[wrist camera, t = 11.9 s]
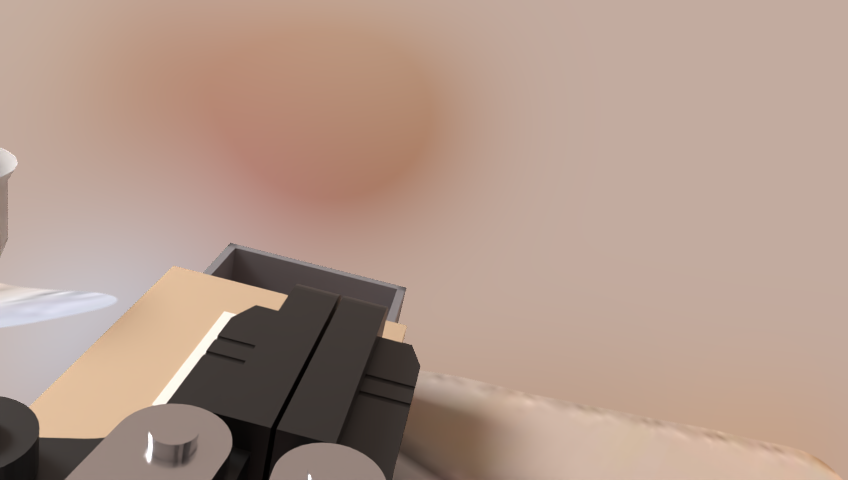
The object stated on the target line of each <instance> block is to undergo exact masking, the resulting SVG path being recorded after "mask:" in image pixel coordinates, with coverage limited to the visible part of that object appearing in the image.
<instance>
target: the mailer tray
mask: <svg viewBox="0 0 848 480" xmlns="http://www.w3.org/2000/svg"><path fill="white" fill-rule="evenodd" d="M203 273H204V274H208V275H211V276H215V277H219V278H223V279H227V280H231V281H235V282H239V283H243V284H246V285H250V286H254V287H258V288H262V289H266V290H270V291H274V292H278V293H282V294H285V295H289V294H290V292H291V291H292V289H293V287H294V286H295V285H296V284H300V285H304V286H308V287H312V288H316V289H319V290H323V291H327V292H331V293H335V294H339V295H341V300H342V298H343V297H344V296H347V297H351V298H355V299H359V300H363V301H367V302H371V303H374V304H378V305H382V306H386V307H388V312H387V318H386V320H387V321H391V322H394V323H398V320H399V316H400V312H401V308H402V303H403V299H404V295H405V291H406V288H405V287H401V286H397V285H394V284H390V283H386V282H382V281H378V280H374V279H370V278H366V277H362V276H358V275H354V274H350V273H346V272H343V271H339V270H335V269H331V268H327V267H323V266H319V265H315V264H311V263H307V262H303V261H299V260H295V259H292V258H288V257H284V256H280V255H276V254H272V253H268V252H264V251H260V250H256V249H252V248H249V247H244V246H240V245H237V244H233V243H230V244H229V245H228V246H227V247H226V248H225V250H224V251H223V252H222V253H221V254H220V255H219V256H218V257H217V258H216V259H215V261H214V262H213V263H212V264H211V265H210V266H209V267H208V268H207V269H206V270H205V271H204V272H203Z"/></svg>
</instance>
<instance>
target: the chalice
mask: <svg viewBox="0 0 848 480" xmlns="http://www.w3.org/2000/svg"><path fill="white" fill-rule="evenodd" d="M17 165H18V162H17V159H16V156H14V155H13V154H11V153H10V152H8V151H7V150H5V149H2V148H0V256H1V254H2V251H3V249H4V247H5V244H6V242H7V239H8V226H7V225H8V207H7V206H8V205H7V204H8V197H7V195H8V194H7V192H8V190H7V181H8V179H9V177H10V176H11V174H12V173H13V171H14V169H15V168H16V166H17Z"/></svg>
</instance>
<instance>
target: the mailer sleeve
mask: <svg viewBox="0 0 848 480" xmlns="http://www.w3.org/2000/svg"><path fill="white" fill-rule="evenodd" d="M287 297H288V295H285V294H282V293H278V292H274V291H270V290H266V289H262V288H258V287H254V286H250V285H246V284H243V283H239V282H235V281H231V280H227V279H223V278H219V277H215V276H211V275H208V274H204V273H199V272H196V271H192V270H187V269H184V268H180V267H176V266H173V267H172V268H171V269H170V270H169V271H168V272H167V273H166V274H165V275H164V276H163V277H162V278H161V279H160V280H159V281H157V282H156V284H154V285H153V286H152V287H151V288H150V290H148V291H147V292H146V293H145V294H144V295H143V296H142V297H141V298H140V299H139V300H138V301H137V302H136V303H135V304H134V305H133V306H132V307H131V308H130V309H129V310H128V311H127V312H126V313H125V314H124V315H123V316H122V317H121V318H120V319H119V320H118V321H117V322H116V323H115V324H114V325H112V326H111V327H110V328H109V329H108V330H107V331H106V332H105V333H104V334H103V335H102V336H101V337H100V338H99V339H98V340H97V341H96V342H95V343H94V344H93V345H92V346H91V347H90V348H89V349H88V350H87V351H86V352H85V353H84V354H83V355H82V356H81V357H80V358H79V359H78V360H77V361H76V362H75V363H74V364H73V365H72V366H70V368H68V369H67V370H66V372H64V373H63V374H62V375H61V376H60V377H59V378H58V379H57V380H56V381H55V382H54V383H53V384H52V385H51V386H50V387H49V388H48V389H47V390H46V391H45V392H44V393H43V394H42V395H41V396H40V397H39V398H38V399H37V400H36V401H35V402H34V403H33V404H32V405H31V406H30V407H29V408H30V409H31V410H32V411H33V412H34V413H35V415H36V417H37V418H38V421H39V427H40V429H39V437H45V438H82V439H88V438H104V437H106V436H107V435H108V434H109V433H110V432H111V431H112V430H113V429H114V428H115V427H116V426H117V425H118V424H119V423H120V422H121V421H122V420H124V419H125V418H126V417H127V416H129V415H131V414H132V413H134V412H136V411H139V410H141V409H143V408H147V407H150V406H155V405H160V404H166V403H167V402H168V401H169V399H170V398H171V397H172V395H173V394H174V393H175V391H176V390H177V389H178V387H179V386H180V385H181V383H182V382H183V381H184V379H185V378H186V377H187V375H188V374H189V373H190V371H191V370H192V369H193V367H194V366H195V365H196V363H197V362H198V361H199V360H200V358H201V357H202V356H203V354H204V355H205V354H206V350H207V349H208V348H209V346H210V345H211V344H212V342H213V341H214V340H215V339H217V336H218V334H219V333H220V332H221V330H222V329H223V328H224V326H225V325H226V324H227V322H228V321H229V320H230V318H231V317H233V316H235V315H237V314H239V313H241V312H243V311H245V310H247V309H249V308H251V307H253V306H255V305H258V306H262V307H266V308H270V309H274V310H277V311H279V309H280V308H281V306H282V304H283V303H284V301H285V300H286V298H287ZM406 328H407V326H406V325H402V324H398V323H394V322H391V321H387V320H386V322H385V327H384V331H383V336H382V338H386V339H390V340H394V341H398V342H402V343H403V340H404V336H405V332H406Z"/></svg>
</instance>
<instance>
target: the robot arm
mask: <svg viewBox="0 0 848 480" xmlns="http://www.w3.org/2000/svg"><path fill="white" fill-rule="evenodd" d="M387 312H388V307H386V306H382V305H378V304H374V303H371V302H367V301H363V300H359V299H355V298H351V297H347V296H344V297H343V298H342V300H341V295H339V294H335V293H331V292H327V291H323V290H319V289H316V288H312V287H308V286H304V285H300V284H296V285H295V286H294V287H293V289H292V291H291V292H290V294H289V295H288V297H287V298H286V300H285V301H284V303H283V304H282V306H281V308H280V309H279V311H277V310H274V309H270V308H266V307H262V306H258V305H255V306H253V307H251V308H249V309H247V310H245V311H243V312H241V313H239V314H237V315H235V316H233V317H231V318H230V320H229V321H228V322H227V324H226V325H225V326H224V328H223V329H222V330H221V332H220V333H219V334H218V336H217V339H215V340H214V341H213V342H212V344H211V345H210V346H209V348H208V349H207V350H206V354H205V355H204V354H203V356H202V357H201V358H200V360H199V361H198V362H197V363H196V365H195V366H194V367H193V369H192V370H191V371H190V373H189V374H188V375H187V377H186V378H185V379H184V381H183V382H182V383H181V385H180V386H179V387H178V389H177V390H176V391H175V393H174V394H173V395H172V397H171V398H170V399H169V401H168V402H167V403H166V404H160V405H155V406H150V407H147V408H143V409H141V410H139V411H136V412H134V413H132V414H131V415H129V416H127V417H126V418H125V419H124V420H122V421H121V422H120V423H119V424H118V425H117V426H116V427H115V428H114V429H113V430H112V431H111V432H110V433H109V434H108V435H107V436H106V437H104V438H88V439H82V438H45V437H39V429H40V427H39V421H38V418H37V417H36V415H35V413H34V412H33V411H32V410H31V409H30V408H29V407H27V406H26V405H24V404H22V403H20V402H18V401H16V400H13V399H10V398H6V397H0V480H392V478H393V472H394V468H395V464H396V460H397V456H398V452H399V448H400V444H401V440H402V436H403V432H404V429H405V425H406V421H407V417H408V413H409V409H410V405H411V401H412V397H413V393H414V389H415V385H416V381H417V377H418V373H419V369H420V364H419V362H418V359H417V357H416V354H415V352H414V349H413V347H412V345H409V344H406V343H402V342H398V341H394V340H390V339H386V338H382V336H383V331H384V327H385V322H386V318H387Z"/></svg>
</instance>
